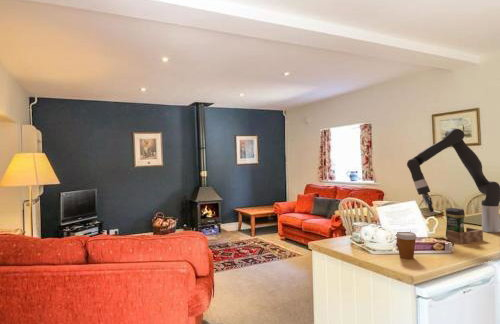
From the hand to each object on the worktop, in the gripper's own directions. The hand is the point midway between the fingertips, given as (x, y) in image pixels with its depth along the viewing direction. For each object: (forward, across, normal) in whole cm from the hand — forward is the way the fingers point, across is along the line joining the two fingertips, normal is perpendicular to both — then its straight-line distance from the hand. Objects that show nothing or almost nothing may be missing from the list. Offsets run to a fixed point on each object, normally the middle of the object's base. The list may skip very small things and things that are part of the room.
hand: (432, 211), depth 214 cm
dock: (+20, -17, -7) cm, 27 cm away
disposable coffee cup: (+15, -59, +32) cm, 69 cm away
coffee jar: (+18, -13, -4) cm, 23 cm away
